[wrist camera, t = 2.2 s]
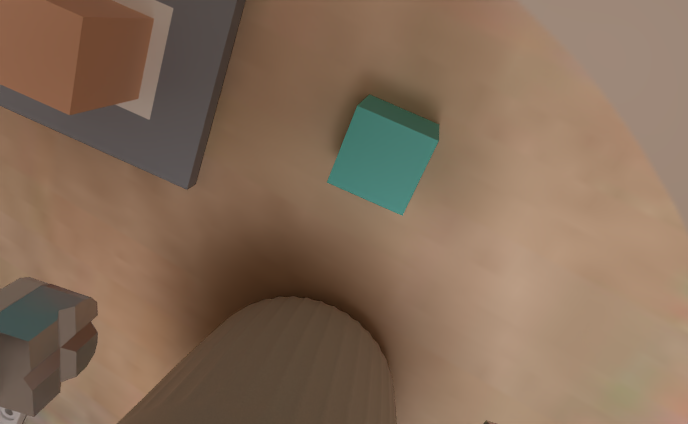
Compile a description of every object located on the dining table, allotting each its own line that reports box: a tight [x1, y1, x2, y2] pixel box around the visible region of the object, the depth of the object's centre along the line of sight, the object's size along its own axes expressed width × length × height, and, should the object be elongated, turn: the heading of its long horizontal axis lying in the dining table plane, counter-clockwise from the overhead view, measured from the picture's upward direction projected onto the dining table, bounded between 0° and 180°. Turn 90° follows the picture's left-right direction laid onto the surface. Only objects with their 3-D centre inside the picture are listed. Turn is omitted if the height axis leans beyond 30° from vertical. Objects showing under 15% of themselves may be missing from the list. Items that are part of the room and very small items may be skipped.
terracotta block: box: [0, 0, 154, 115], centre depth 26 cm, size 5×5×6 cm
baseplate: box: [0, 0, 245, 189], centre depth 29 cm, size 14×14×1 cm
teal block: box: [327, 94, 439, 215], centre depth 27 cm, size 4×4×4 cm
